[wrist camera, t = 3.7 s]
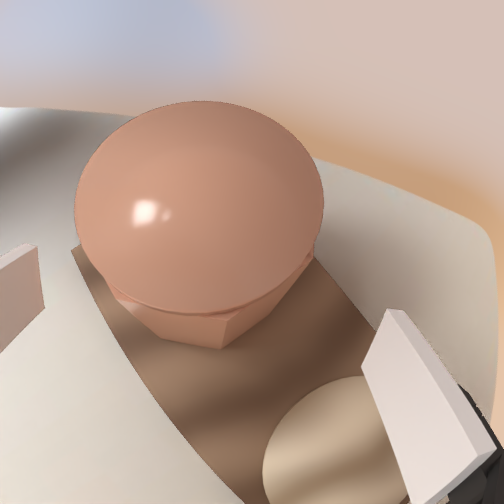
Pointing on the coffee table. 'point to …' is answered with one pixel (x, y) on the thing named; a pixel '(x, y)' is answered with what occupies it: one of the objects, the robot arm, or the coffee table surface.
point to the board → (243, 370)
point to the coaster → (333, 450)
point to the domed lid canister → (199, 218)
